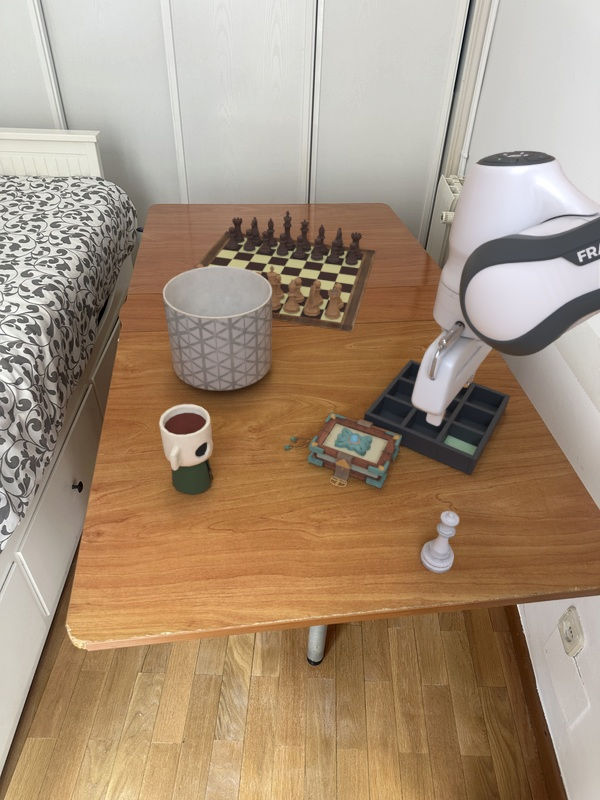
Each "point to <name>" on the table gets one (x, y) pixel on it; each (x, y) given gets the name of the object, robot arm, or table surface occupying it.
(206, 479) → the character mug
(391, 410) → the grid
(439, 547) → the chess piece
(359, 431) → the decorative book
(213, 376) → the planter
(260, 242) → the chessboard
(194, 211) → the table surface
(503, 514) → the table surface
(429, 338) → the table surface
